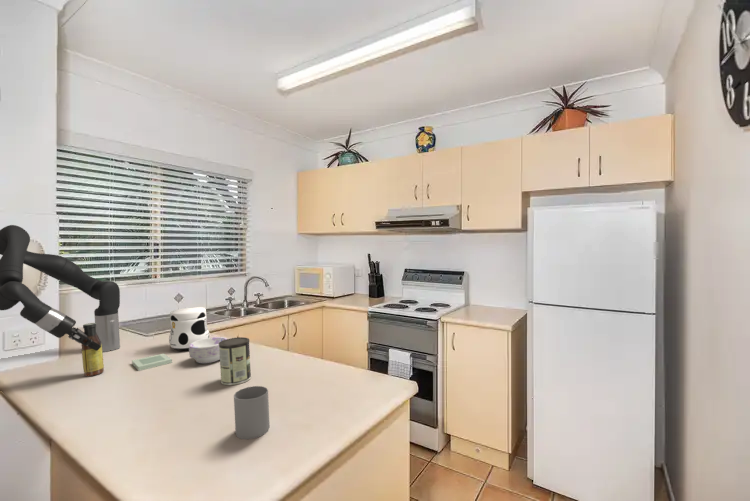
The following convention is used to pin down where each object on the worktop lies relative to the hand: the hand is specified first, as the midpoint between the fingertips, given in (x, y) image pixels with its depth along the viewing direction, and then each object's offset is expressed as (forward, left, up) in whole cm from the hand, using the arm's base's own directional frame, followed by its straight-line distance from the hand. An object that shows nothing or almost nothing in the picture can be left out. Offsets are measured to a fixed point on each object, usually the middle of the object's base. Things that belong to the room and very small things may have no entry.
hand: (97, 346), depth 141 cm
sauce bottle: (0, -2, -11) cm, 11 cm away
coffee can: (+50, +33, -11) cm, 61 cm away
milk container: (-9, +36, -11) cm, 39 cm away
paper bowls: (+19, +35, -11) cm, 41 cm away
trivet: (+4, +17, -10) cm, 21 cm away
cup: (+88, +21, -11) cm, 91 cm away
